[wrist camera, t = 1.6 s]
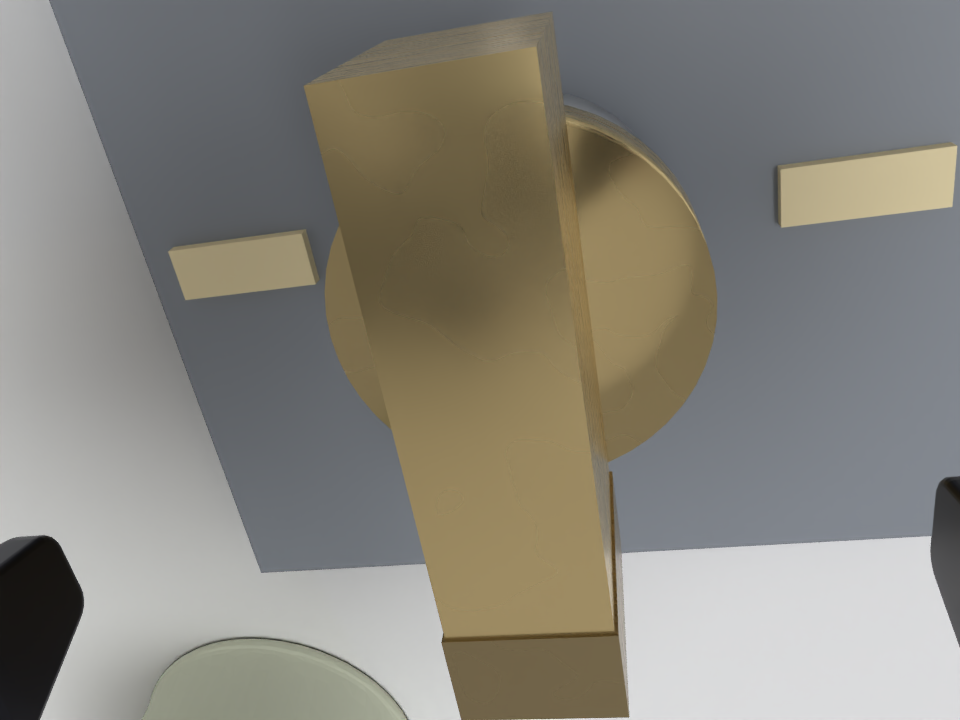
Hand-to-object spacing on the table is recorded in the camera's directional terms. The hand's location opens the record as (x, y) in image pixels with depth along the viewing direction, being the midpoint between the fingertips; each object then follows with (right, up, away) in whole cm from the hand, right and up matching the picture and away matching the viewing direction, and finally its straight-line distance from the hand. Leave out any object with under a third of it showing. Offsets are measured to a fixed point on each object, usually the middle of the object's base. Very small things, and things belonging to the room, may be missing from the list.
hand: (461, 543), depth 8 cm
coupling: (+1, +3, +7) cm, 7 cm away
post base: (+1, +5, +10) cm, 12 cm away
